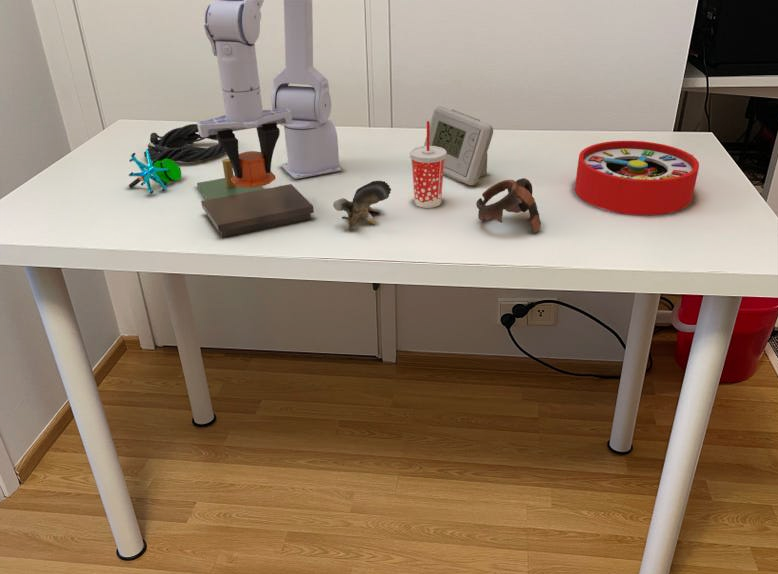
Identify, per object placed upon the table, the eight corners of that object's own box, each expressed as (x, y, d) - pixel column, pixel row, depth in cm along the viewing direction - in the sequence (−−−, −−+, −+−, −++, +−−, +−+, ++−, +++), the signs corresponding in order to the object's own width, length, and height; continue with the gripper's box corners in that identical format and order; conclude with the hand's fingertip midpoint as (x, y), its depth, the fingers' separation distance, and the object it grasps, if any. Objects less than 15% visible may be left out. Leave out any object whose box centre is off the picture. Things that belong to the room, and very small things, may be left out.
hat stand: (250, 178, 140) (246, 146, 136) (266, 196, 132) (262, 163, 129) (197, 188, 136) (191, 156, 133) (211, 207, 129) (205, 173, 125)
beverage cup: (427, 192, 132) (427, 113, 124) (452, 202, 129) (454, 121, 121) (402, 202, 129) (401, 121, 121) (428, 212, 125) (428, 129, 117)
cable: (237, 141, 157) (234, 121, 155) (226, 165, 146) (223, 143, 143) (156, 143, 157) (152, 123, 154) (138, 167, 145) (134, 145, 143)
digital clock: (417, 162, 145) (417, 107, 139) (458, 155, 148) (460, 101, 142) (454, 191, 133) (456, 132, 126) (498, 183, 135) (502, 125, 129)
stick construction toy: (147, 189, 130) (127, 148, 129) (123, 207, 133) (103, 167, 133) (193, 185, 140) (175, 147, 140) (170, 202, 144) (152, 165, 143)
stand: (292, 197, 132) (291, 183, 130) (314, 219, 124) (313, 205, 122) (203, 214, 126) (200, 200, 125) (220, 239, 118) (217, 225, 116)
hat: (267, 169, 125) (264, 145, 122) (279, 182, 120) (277, 158, 117) (227, 176, 122) (223, 152, 120) (238, 190, 117) (235, 165, 115)
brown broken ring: (536, 244, 116) (512, 202, 111) (485, 256, 122) (461, 217, 118) (557, 198, 122) (535, 157, 118) (508, 212, 129) (486, 173, 124)
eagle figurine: (380, 229, 117) (401, 199, 123) (353, 193, 114) (376, 164, 120) (348, 245, 122) (369, 214, 128) (321, 210, 119) (344, 181, 125)
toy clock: (684, 189, 116) (562, 168, 125) (677, 224, 120) (558, 201, 128) (710, 150, 131) (599, 134, 139) (703, 182, 134) (594, 164, 142)
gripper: (199, 100, 107) (214, 189, 115) (294, 87, 112) (303, 173, 120) (188, 88, 112) (203, 175, 120) (280, 76, 117) (288, 160, 125)
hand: (252, 173), depth 120 cm, fingers closed on hat, 4 cm apart
